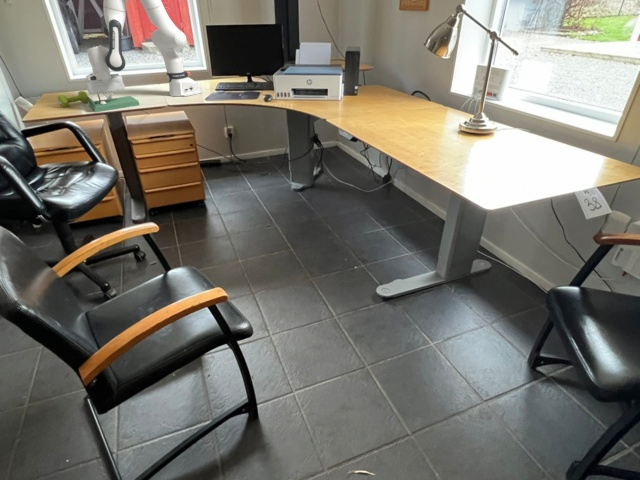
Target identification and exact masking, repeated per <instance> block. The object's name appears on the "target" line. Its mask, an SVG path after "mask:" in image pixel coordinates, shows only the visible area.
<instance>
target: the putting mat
mask: <svg viewBox="0 0 640 480" xmlns="http://www.w3.org/2000/svg"><path fill="white" fill-rule="evenodd" d="M97 98H98V100H93V99H92V98H90V97H89V96H88V97H87V100H88V103H87V104H88V105H89V107H90V109H92V110H93V111H94V112H95V113H99V112H106V111H110V110H118V109H124V108H130V106H131V107H136V106H140V102H139V100H138V99H136V98H135V97H133V96H131V95H129V96H128V95H127V96H121V97H114V98H113V97H112V98H113V99H111V100H107V98H106V99H101V97H100V93H97ZM101 101H105V102H106V104H100V102H101Z"/></svg>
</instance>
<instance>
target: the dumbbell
mask: <svg viewBox="0 0 640 480" xmlns="http://www.w3.org/2000/svg"><path fill="white" fill-rule="evenodd" d="M77 93H78V94H77V95H74V96H69V97H66V96H65V95H64V94H58V95H57V102H58V104H59V106H61V108H64V109H65V108H69V106H70V105H69V104H71V103H75V102H80V103H83V104H89V103H88V100H87V97H89V95H88V94H87V92H86V91H84V90H80V91H78V92H77Z"/></svg>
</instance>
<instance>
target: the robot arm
mask: <svg viewBox="0 0 640 480" xmlns="http://www.w3.org/2000/svg"><path fill="white" fill-rule="evenodd" d="M102 1H103V3H102V4H103V7H102V8H103V9H102V11H103V18H104V20H105V24H106V27H107V32H108V41H109V42H108V47H105V46H103V45H101V44H92V45H90V46H89V47H87V49H86V50H87V51H86V53H87V56H88V60H89V63H90V65H91V68H92V73H90V74H87V75H85V78H86V88H87V92H88V93H89V94H90V95H96V94H97V93H99V94H102V95H104V96H105V97H106V99H107V100H111V99H113V95H114V92H116V91H124V90H125V89H126V87H125V84H124V81H123V79H124V78H123V76H122V74H120V73H111V71H114V72H121V71H123V70H124V69H125V67H126V60H125V58H124V54H123V52H122V51H123V50H122V49H123V42H122V39H123V38H122V37H123V30H124V27H125V21H126V5H127V2H128V0H102ZM139 2H140V3H141V4H142V7H143V10H144V11H145V13H146V15H147V17H148V19H149V21H150V22H151V24H152V26H155V27H156V28H157V29H156V30H155V29H154V30H153V31H152V33H151V36H150V38H151V41H152V44H153V45H154V46H155V47H157V49H158V51H159V52H160V54H161V56H162V58H163V61H164V65H165V68H166V69H165V71H166V77H167V81H168V85H169V86H168V87H169V96H171V97H188V96H189V97H190V96H194V95H199V94H203V93H204V90H203V89H202V88H200V85H199V84H198V82H197V81H196V80H194V79H192V77H189V76H191V72H190V71H187V70H185V68H184V63H183V58H182V57H181V56H180V55H179V54H178V53H177V50H180V49H183V48H185V47H186V46H187V41H188V40H187V36H186V34H185V33H184V32H183V31H181V30H180V29H179V28H178V27H177V26H176V24H174V22H173V21H172V19H171V18H170V16H169V15H168V12H167V10H166V9H165V6H164V5H163V4H164V3H163V2H162V0H139ZM110 70H111V71H110ZM107 93H109V94H110V95H107Z"/></svg>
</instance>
